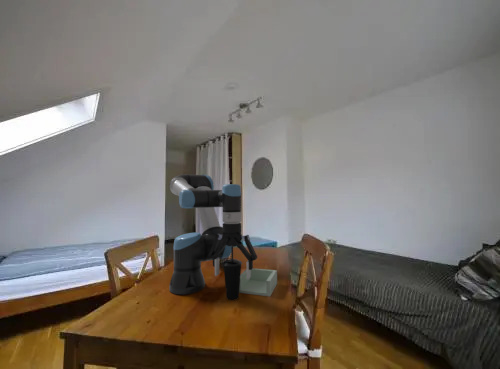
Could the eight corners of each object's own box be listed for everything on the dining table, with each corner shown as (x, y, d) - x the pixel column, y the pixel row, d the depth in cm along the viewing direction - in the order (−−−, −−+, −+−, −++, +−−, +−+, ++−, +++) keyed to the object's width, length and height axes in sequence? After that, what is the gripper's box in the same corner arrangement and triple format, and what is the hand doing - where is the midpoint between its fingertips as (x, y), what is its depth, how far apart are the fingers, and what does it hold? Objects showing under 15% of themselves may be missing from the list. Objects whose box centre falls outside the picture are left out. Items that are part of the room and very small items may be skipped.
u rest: (237, 292, 97) (237, 277, 97) (248, 280, 110) (247, 267, 110) (270, 296, 92) (269, 281, 93) (277, 283, 106) (276, 270, 106)
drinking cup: (239, 302, 87) (239, 248, 88) (220, 301, 89) (220, 248, 90) (244, 294, 95) (243, 244, 96) (226, 292, 96) (225, 244, 97)
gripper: (199, 222, 94) (200, 276, 93) (259, 224, 86) (260, 282, 85) (208, 220, 101) (209, 270, 100) (264, 222, 93) (265, 276, 92)
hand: (232, 276), depth 92 cm, fingers open, 13 cm apart
